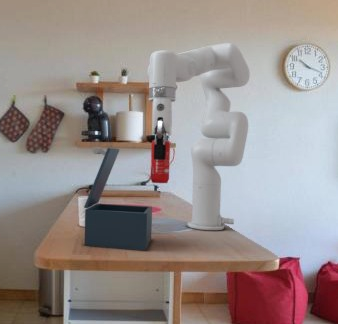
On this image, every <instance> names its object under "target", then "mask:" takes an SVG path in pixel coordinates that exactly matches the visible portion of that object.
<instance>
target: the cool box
mask: <svg viewBox="0 0 338 324" xmlns="http://www.w3.org/2000/svg"><path fill="white" fill-rule="evenodd" d="M152 222H153V206H146V205H129V204H114V203H113V204H111V203H100V204H96V205H94V206H92V207H90V208H88V209H86V210H85V227H84V243H83V245H84V246H86V247H96V248H97V247H98V248H107V249H121V250H131V251H132V250H133V251H142V252H143V251H144V252H145V251H147V250H148V248H149V246H150V243H151V241H152V231H153V230H152V227H153V226H152V225H153V224H152Z"/></svg>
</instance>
